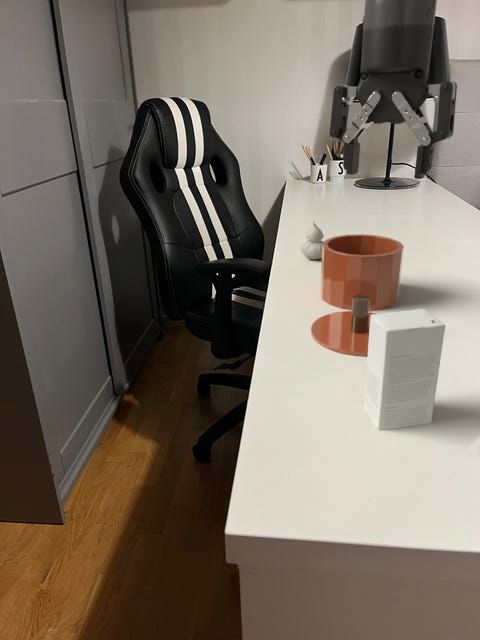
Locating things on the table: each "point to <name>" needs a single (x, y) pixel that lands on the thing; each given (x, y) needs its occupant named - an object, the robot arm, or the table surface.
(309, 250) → the white lumpy pointed piece
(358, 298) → the jar lid
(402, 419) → the cosmetic box
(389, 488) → the table surface
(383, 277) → the jar
